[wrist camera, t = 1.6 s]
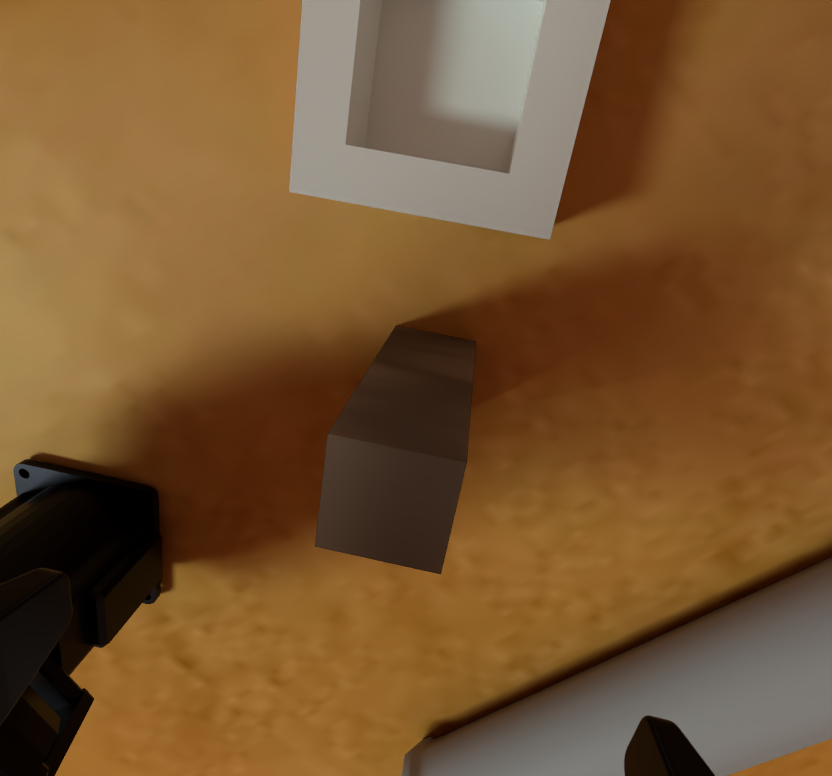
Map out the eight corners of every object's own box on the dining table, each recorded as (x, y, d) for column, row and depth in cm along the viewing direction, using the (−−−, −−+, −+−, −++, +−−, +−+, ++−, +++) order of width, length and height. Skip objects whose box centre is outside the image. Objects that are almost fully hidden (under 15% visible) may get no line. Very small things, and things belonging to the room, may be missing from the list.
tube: (1018, 525, 16) (383, 800, 23) (1147, 685, 15) (452, 912, 23) (914, 478, 21) (420, 717, 29) (1008, 597, 20) (478, 807, 28)
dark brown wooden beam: (384, 399, 21) (315, 546, 12) (395, 325, 20) (327, 434, 11) (459, 414, 21) (440, 574, 12) (476, 341, 19) (466, 463, 11)
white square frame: (319, 189, 18) (276, 192, 15) (344, -89, 15) (298, -173, 12) (540, 230, 18) (553, 243, 14) (609, -49, 15) (648, -123, 11)
